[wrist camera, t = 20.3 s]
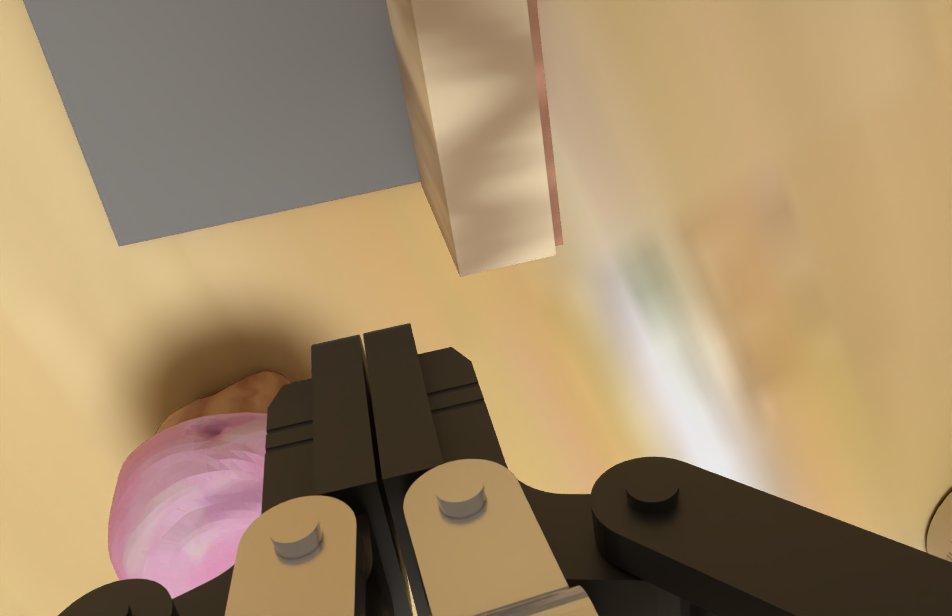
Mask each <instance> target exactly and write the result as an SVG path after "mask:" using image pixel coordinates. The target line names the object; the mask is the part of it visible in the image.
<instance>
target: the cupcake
mask: <svg viewBox="0 0 952 616" xmlns="http://www.w3.org/2000/svg"><path fill="white" fill-rule="evenodd" d="M285 384H290V382H289V380H288V379H286V378H285V377H284V376H282V375H281V374H278V373H276V372H272V371H264V372H260V373H256V374H253V375H250V376H248V377H246V378H244V379H242V380H241V381H239V382H237V383H235V384H233V385H231V386H229V387H227V388H225V389H223V390H222V391H220V392H219V393H217V394H215V395H212V396H209V397H206V398H202V399H198V400H196V401H194V402H192V403H190V404H189V405H187V406H185V407H183V408H181V409H179V410H177V411H176V412H174V413H173V414H171V415H170V416H169V417H168V418H167V419H166V420H165V421H164V422H163V423H162V425H161V426H160V427H159V429H158V430H157V432H156V434H155V435H154V436H153V437H151V438H150V439H148V440H147V441H145V442H144V443H143V444H141V445H140V446H139V447H138V448H137V449H136V450H135V451H134V452H132V453H131V454H130V455H129V456H128V458H127V459H126V460H125V462H124V463H123V466H122V468H121V470H120V473H119V477H118V481H117V485H116V488H115V492H114V497H113V501H112V506H111V511H110V517H109V528H108V549H109V555H110V559H111V562H112V564H113V567H114V569H115V572H116V574H117V576H118V578H119V580H125V579H136V578H138V579H148V580H152V581H155V582H157V583H159V584H161V585H162V586H164V587H165V588H166V589H167V591H168V592H169V594H170V596H171V598H172V599H173V598H175V597H177V596H179V595H182V594H184V593H186V592H188V591H190V590H192V589H194V588H196V587H198V586H200V585H202V584H204V583H206V582H208V581H210V580H212V579H214V578H215V577H217V576H219V575H220V574H222V573H223V572H225V571H226V570H228V569H229V568H230V567H232V566H233V565H234V564H235V560H236V555H237V549H238V545H239V542H240V539H241V537H242V536H243V534H244V532H245V531H246V529H247V528H248V527H249V525H250V524H251V523H252V522H253V521H254V520H255V519H257V518H258V517H259V516H260V515H261V510H262V493H263V476H264V460H265V454H266V450H265V443H266V435H267V431H266V426H267V409H268V407H269V405H270V404H271V402H272V401H273V399H274V398H275V396H276V395H277V393H278V392H279V390H280V389H281V387H282V386H283V385H285Z"/></svg>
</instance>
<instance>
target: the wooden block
mask: <svg viewBox="0 0 952 616" xmlns="http://www.w3.org/2000/svg"><path fill="white" fill-rule="evenodd" d="M386 1H387V7H388V12H389V17H390V22H391V28H392V33H393V38H394V43H395V48H396V54H397V59H398V64H399V69H400V75H401V80H402V85H403V90H404V96H405V101H406V106H407V111H408V116H409V122H410V127H411V132H412V137H413V143H414V148H415V153H416V158H417V163H418V169H419V174H420V179H421V184H422V188H423V190H424V192H425V195H426V197H427V199H428V202H429V204H430V207H431V209H432V211H433V214H434V216H435V218H436V221H437V223H438V225H439V228H440V230H441V233H442V235H443V237H444V240H445V242H446V244H447V247H448V249H449V252H450V254H451V256H452V259H453V261H454V263H455V266H456V268H457V270H458V273H459V275H460V277H462V276H466V275H470V274H475V273H479V272H484V271H488V270H492V269H497V268H501V267H506V266H510V265H514V264H519V263H523V262H528V261H532V260H536V259H541V258H545V257H550V256H554V255H556V249H555V246H558V245H562V244H563V239H562V230H561V221H560V211H559V202H558V193H557V184H556V175H555V166H554V157H553V148H552V139H551V130H550V121H549V112H548V102H547V93H546V84H545V75H544V66H543V57H542V48H541V39H540V30H539V21H538V12H537V2H536V0H386Z"/></svg>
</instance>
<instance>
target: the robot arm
mask: <svg viewBox="0 0 952 616" xmlns="http://www.w3.org/2000/svg"><path fill="white" fill-rule="evenodd" d="M363 336H364V344H365V351H364V348H363V344H362V340H361V337H360V335H355V336H350V337H346V338H341V339H337V340H332V341H328V342H323V343H319V344H314V345H312V346H311V360H312V379H308V380H303V381H299V382H294V383H290V384H285V385H283V386H282V387H281V389H280V390H279V392H278V393H277V395H276V396H275V398H274V399H273V401H272V402H271V404H270V405H269V407H268V409H267V426H266V431H267V435H266V443H265V450H266V454H265V460H264V476H263V493H262V510H261V515H260V516H259V517H258V518H257V519H255V520H254V521H253V522H252V523H251V524H250V525H249V527H248V528H247V529H246V531H245V532H244V534H243V536H242V537H241V539H240V542H239V545H238V549H237V555H236V560H235V564H234V565H233V566H232V567H230V568H229V569H228V570H226V571H225V572H223V573H222V574H220V575H219V576H217V577H215V578H214V579H212V580H210V581H208V582H206V583H204V584H202V585H200V586H198V587H196V588H194V589H192V590H190V591H188V592H186V593H184V594H182V595H179V596H177V597H175V598H173V599H172V598H171V596H170V594H169V592H168V591H167V589H166V588H165V587H164V586H162V585H161V584H159V583H157V582H155V581H152V580H148V579H138V578H136V579H125V580H120V581H116V582H113V583H110V584H106V585H104V586H102V587H99V588H97V589H95V590H93V591H91V592H89V593H87V594H85V595H84V596H82V597H81V598H79V599H78V600H76V601H75V602H73V603H72V604H71V605H70V606H69V607H67V608H66V609H65V610H64V611H63V612H62V613H60V614H59V615H58V616H413V612H412V605H411V598H410V591H409V585H408V580H409V584H410V587H411V591H412V595H413V599H414V603H415V607H416V610H417V614H418V616H952V492H951V493H950V494H949V495H948V496H947V497H946V499H945V500H944V501H943V503H942V504H941V506H940V507H939V508H938V510H937V511H936V513H935V515H934V518H933V520H932V522H931V524H930V527H929V531H928V535H927V552H928V553H926V552H923V551H920V550H918V549H915V548H912V547H910V546H907V545H904V544H902V543H899V542H896V541H894V540H891V539H888V538H886V537H883V536H880V535H878V534H875V533H872V532H870V531H867V530H864V529H862V528H859V527H856V526H854V525H851V524H848V523H846V522H843V521H840V520H838V519H835V518H832V517H830V516H827V515H824V514H822V513H819V512H816V511H814V510H811V509H808V508H806V507H803V506H800V505H798V504H795V503H792V502H790V501H787V500H784V499H782V498H779V497H776V496H774V495H771V494H768V493H766V492H763V491H760V490H758V489H755V488H752V487H750V486H747V485H744V484H742V483H739V482H736V481H734V480H731V479H728V478H726V477H723V476H720V475H718V474H715V473H712V472H710V471H707V470H704V469H702V468H699V467H696V466H694V465H691V464H688V463H685V462H682V461H679V460H676V459H671V458H665V457H642V458H636V459H632V460H628V461H624V462H622V463H620V464H617V465H615V466H613V467H612V468H610V469H608V470H607V471H606V472H605V473H603V474H602V475H601V476H600V477H599V478H598V480H597V481H596V482H595V484H594V486H593V488H592V492H591V494H555V493H549V492H544V491H540V490H537V489H534V488H532V487H529V486H527V485H525V484H524V483H522V482H520V481H519V480H518V479H517V478H516V477H515V475H514V474H513V473H512V472H511V471H510V470H509V469H508V467H507V465H506V463H505V460H504V457H503V454H502V451H501V448H500V445H499V442H498V439H497V436H496V433H495V430H494V427H493V424H492V421H491V419H490V416H489V413H488V410H487V407H486V404H485V402H484V398H483V395H482V392H481V389H480V386H479V384H478V380H477V377H476V374H475V371H474V368H473V365H472V362H471V361H470V360H468V359H467V358H466V357H464V356H463V355H462V354H460V353H459V352H458V351H456V350H455V349H454V348H452V347H449V348H445V349H440V350H436V351H431V352H427V353H423V354H417V350H416V346H415V341H414V337H413V333H412V329H411V325H410V323H408V324H404V325H399V326H395V327H390V328H386V329H381V330H377V331H372V332H368V333H364V334H363ZM365 352H366V355H365ZM407 576H408V578H407Z"/></svg>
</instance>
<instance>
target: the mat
mask: <svg viewBox="0 0 952 616" xmlns="http://www.w3.org/2000/svg"><path fill="white" fill-rule="evenodd" d="M23 1H24V4H25V7H26V9H27V12H28V14H29V17H30V19H31V22H32V24H33V27H34V30H35V32H36V35H37V37H38V40H39V42H40V45H41V48H42V50H43V53H44V55H45V58H46V60H47V63H48V66H49V68H50V71H51V73H52V76H53V78H54V81H55V83H56V86H57V89H58V91H59V94H60V96H61V99H62V101H63V104H64V107H65V109H66V112H67V114H68V117H69V119H70V122H71V124H72V127H73V130H74V132H75V135H76V137H77V140H78V142H79V145H80V148H81V150H82V153H83V155H84V158H85V160H86V163H87V166H88V168H89V171H90V173H91V176H92V178H93V181H94V183H95V186H96V189H97V191H98V194H99V196H100V199H101V201H102V204H103V207H104V209H105V212H106V214H107V217H108V219H109V222H110V225H111V227H112V230H113V232H114V235H115V237H116V240H117V242H118V245H119V246H124V245H128V244H133V243H138V242H142V241H147V240H152V239H156V238H161V237H166V236H170V235H175V234H179V233H184V232H189V231H193V230H198V229H203V228H207V227H212V226H216V225H221V224H226V223H230V222H235V221H240V220H244V219H249V218H253V217H258V216H263V215H267V214H272V213H277V212H281V211H286V210H290V209H295V208H300V207H304V206H309V205H314V204H318V203H323V202H327V201H332V200H337V199H341V198H346V197H351V196H355V195H360V194H364V193H369V192H374V191H378V190H383V189H388V188H392V187H397V186H402V185H406V184H411V183H415V182H420V181H421V179H420V174H419V169H418V163H417V158H416V153H415V148H414V143H413V137H412V132H411V127H410V122H409V116H408V111H407V106H406V101H405V96H404V90H403V85H402V80H401V75H400V69H399V64H398V59H397V54H396V48H395V43H394V38H393V33H392V28H391V22H390V17H389V12H388V7H387V1H386V0H23Z"/></svg>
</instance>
